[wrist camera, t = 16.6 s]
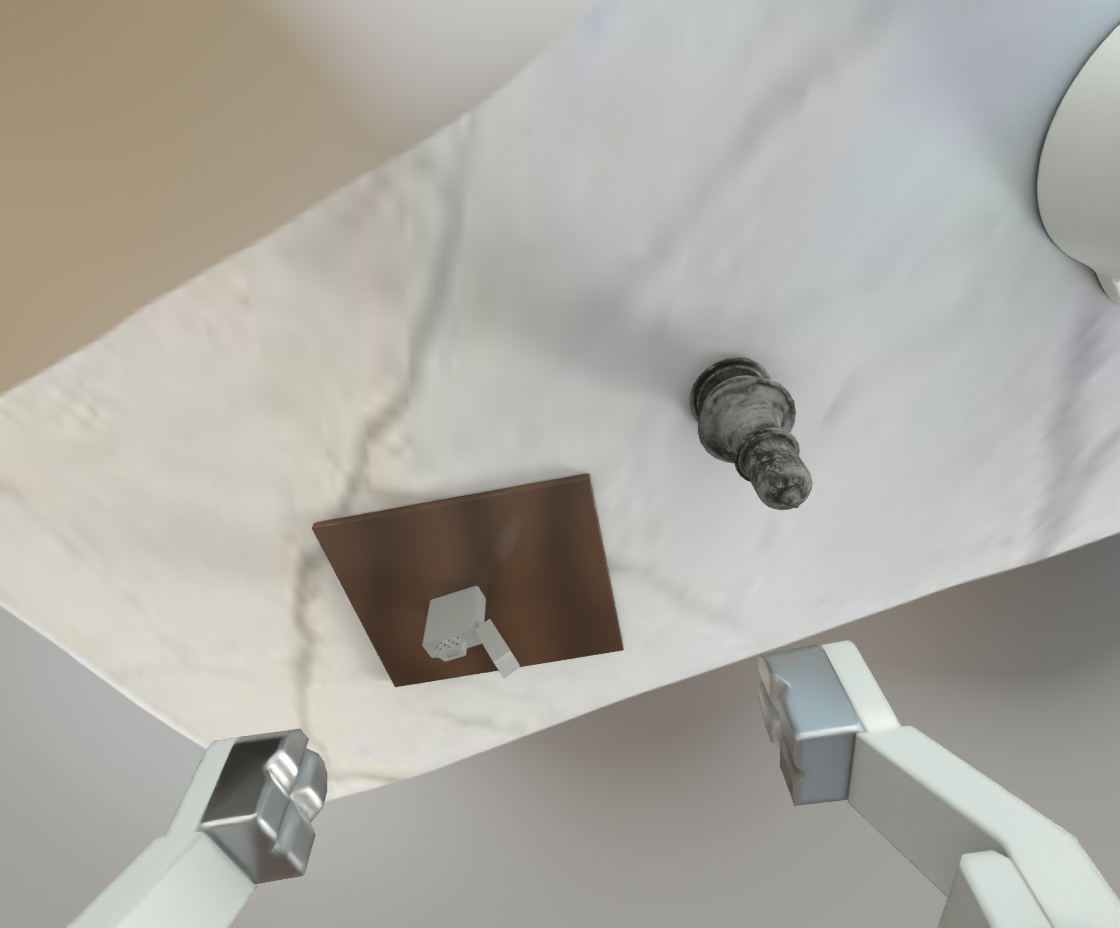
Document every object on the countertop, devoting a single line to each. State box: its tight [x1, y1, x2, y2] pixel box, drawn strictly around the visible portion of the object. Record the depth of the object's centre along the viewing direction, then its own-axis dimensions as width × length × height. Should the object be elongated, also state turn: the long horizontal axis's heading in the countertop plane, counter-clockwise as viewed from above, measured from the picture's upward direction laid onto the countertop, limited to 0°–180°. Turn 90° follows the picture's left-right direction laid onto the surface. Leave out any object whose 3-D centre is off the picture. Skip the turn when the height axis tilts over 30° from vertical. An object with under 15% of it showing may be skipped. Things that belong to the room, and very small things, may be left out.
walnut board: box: [312, 474, 624, 687], centre depth 49 cm, size 20×18×1 cm
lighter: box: [422, 586, 520, 678], centre depth 45 cm, size 7×2×8 cm, turn 111°
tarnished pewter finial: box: [690, 358, 812, 510], centre depth 36 cm, size 6×6×12 cm
